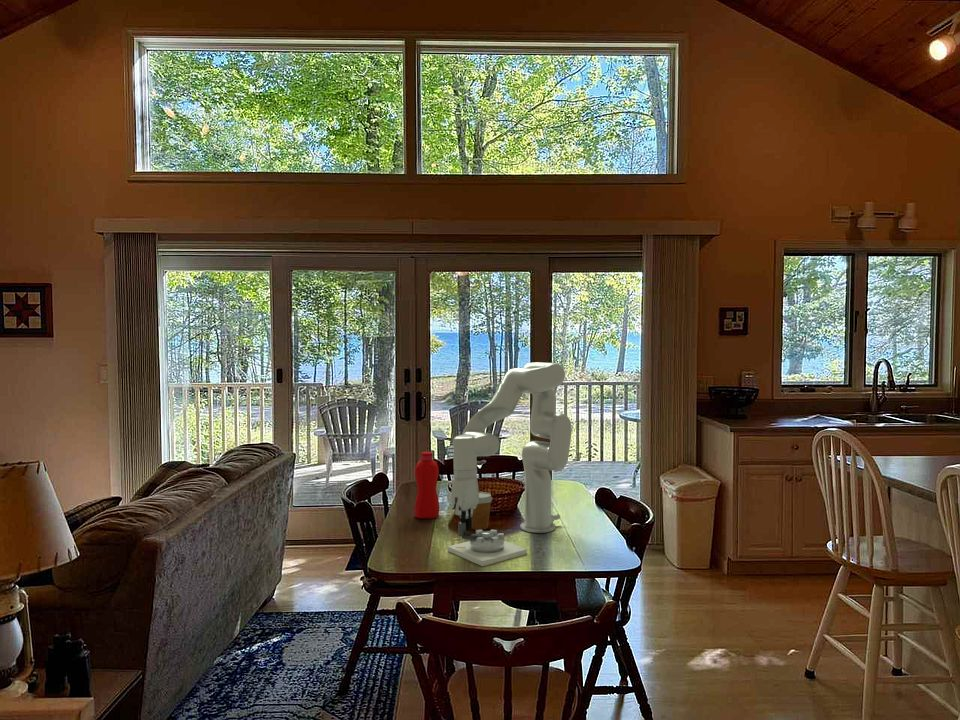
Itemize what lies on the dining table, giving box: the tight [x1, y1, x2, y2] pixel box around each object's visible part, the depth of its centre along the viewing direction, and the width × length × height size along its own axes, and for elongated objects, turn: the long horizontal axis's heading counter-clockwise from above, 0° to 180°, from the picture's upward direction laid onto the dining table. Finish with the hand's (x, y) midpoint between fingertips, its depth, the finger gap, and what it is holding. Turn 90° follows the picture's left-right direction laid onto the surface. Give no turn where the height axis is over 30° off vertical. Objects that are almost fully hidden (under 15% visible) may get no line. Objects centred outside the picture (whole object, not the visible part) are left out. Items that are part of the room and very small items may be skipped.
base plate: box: [447, 540, 528, 567], centre depth 204 cm, size 18×18×2 cm
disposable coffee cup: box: [471, 491, 493, 531], centre depth 231 cm, size 10×10×12 cm
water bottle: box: [414, 451, 440, 520], centre depth 246 cm, size 9×11×25 cm
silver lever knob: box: [457, 521, 505, 553], centre depth 203 cm, size 15×11×8 cm
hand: (466, 529), depth 206 cm, fingers closed
